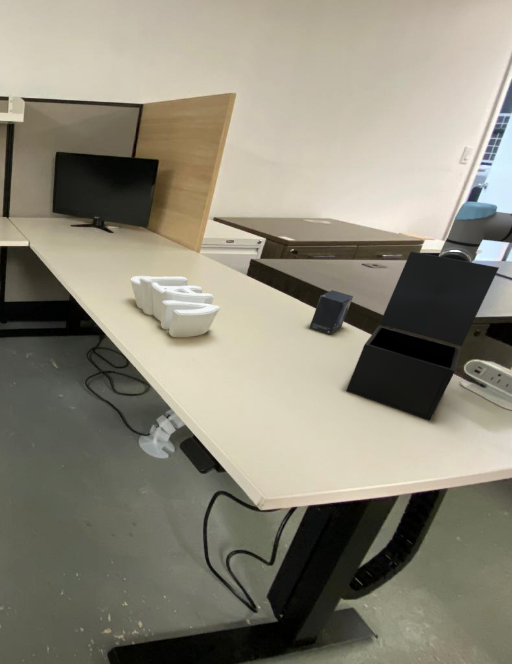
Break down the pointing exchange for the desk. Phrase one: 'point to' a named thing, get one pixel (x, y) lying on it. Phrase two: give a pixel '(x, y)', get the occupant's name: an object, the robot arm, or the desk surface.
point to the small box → (330, 312)
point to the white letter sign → (175, 304)
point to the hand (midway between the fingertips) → (443, 280)
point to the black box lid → (438, 297)
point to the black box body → (404, 371)
